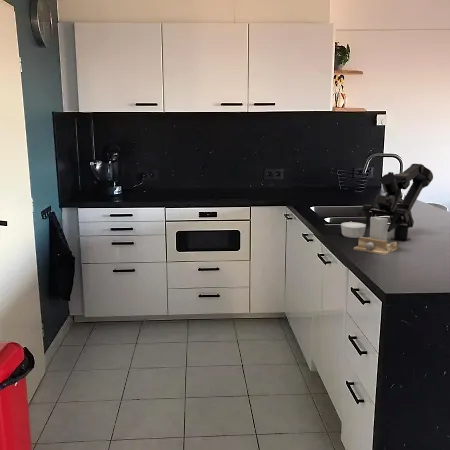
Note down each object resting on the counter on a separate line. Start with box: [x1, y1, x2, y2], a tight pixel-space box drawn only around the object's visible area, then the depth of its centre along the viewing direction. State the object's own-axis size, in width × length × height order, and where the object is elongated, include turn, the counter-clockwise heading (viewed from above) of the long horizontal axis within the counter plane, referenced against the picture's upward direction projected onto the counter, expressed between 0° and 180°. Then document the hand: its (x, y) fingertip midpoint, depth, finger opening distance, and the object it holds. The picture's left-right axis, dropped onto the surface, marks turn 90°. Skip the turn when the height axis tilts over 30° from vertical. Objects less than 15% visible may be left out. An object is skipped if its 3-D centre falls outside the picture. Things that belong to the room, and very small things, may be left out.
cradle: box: [353, 236, 400, 256], centre depth 206 cm, size 14×13×5 cm
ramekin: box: [340, 221, 367, 239], centre depth 229 cm, size 11×11×5 cm
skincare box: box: [369, 215, 389, 242], centre depth 206 cm, size 6×4×12 cm
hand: (377, 229), depth 204 cm, fingers open, 9 cm apart
